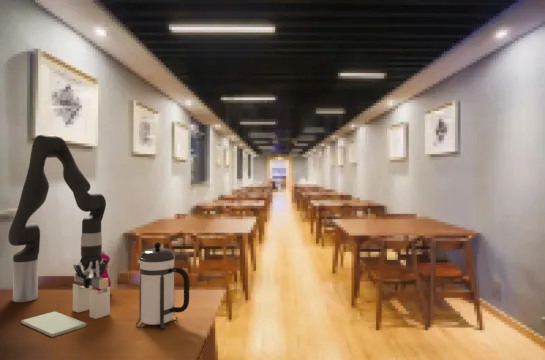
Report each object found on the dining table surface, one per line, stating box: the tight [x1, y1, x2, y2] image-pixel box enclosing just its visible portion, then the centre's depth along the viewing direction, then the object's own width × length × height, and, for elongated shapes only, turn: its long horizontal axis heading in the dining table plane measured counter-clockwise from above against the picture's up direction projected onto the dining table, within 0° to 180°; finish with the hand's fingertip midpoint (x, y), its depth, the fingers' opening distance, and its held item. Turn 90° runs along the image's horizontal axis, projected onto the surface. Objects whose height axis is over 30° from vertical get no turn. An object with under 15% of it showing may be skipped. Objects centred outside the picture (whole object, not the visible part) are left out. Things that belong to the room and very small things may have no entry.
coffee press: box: [135, 241, 190, 331], centre depth 144 cm, size 17×16×30 cm
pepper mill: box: [93, 250, 112, 291], centre depth 180 cm, size 7×7×20 cm
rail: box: [74, 270, 108, 289], centre depth 155 cm, size 18×3×3 cm, turn 56°
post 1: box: [72, 283, 93, 313], centre depth 158 cm, size 4×6×11 cm, turn 146°
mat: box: [21, 310, 87, 338], centre depth 142 cm, size 22×12×1 cm, turn 56°
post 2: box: [89, 286, 111, 320], centre depth 152 cm, size 4×6×11 cm, turn 146°
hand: (90, 286), depth 155 cm, fingers closed on rail, 3 cm apart
